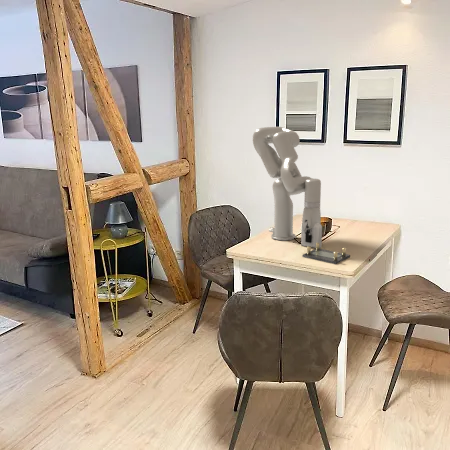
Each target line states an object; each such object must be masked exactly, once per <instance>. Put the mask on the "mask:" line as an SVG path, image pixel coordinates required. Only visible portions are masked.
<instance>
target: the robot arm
mask: <svg viewBox="0 0 450 450" xmlns="http://www.w3.org/2000/svg"><path fill="white" fill-rule="evenodd" d="M270 144H273V146H274V148H275V149H274V148H273V147H272V146H271V145H270ZM252 145H253V147H254V150H255V151H256V153H257V154H258V156H259V158H260V159H261V161H262V163H263V167H265V169H266V172H267V174H268V176H270V178H272V179H275V180H274V182H273V183H272V192H273V200H274V202H273V203H274V225H273V226H274V227H270V228H269V229H268V232H270V233H272V234H271V239H273V240H275V241H291V240H294V238H295V239H296V234H295V233H293V231H294V229H293V228H294V227H293V224H294V203H293V200H292V199H291V196H294V195H299V194H302V193H304V202H303V203H304V204H303V205H304V208H303V211H302V212H303V213H302V217H301V218H302V220H301V221H302V222H301V228H302V227H303V231H304V232H305V234H306V235H305V242H308V243H311V242H312V235H311V231H312V228H313V227H314V225H315V224H316V223H319V224H321V220H322V218H321V214H322V213H321V196H322V195H321V192H322V191H321V190H322V182H321V180H320V179H319V178H312V177H310V176H305V175H304V176H302V174H301V172H300V170H299V168H298V166H297V164H296V162H297V160H298V159H299V155H298V153H297V151H296V149H295V148H296V147H298V146H299V145H300V136H299V134H298V133H297V132H296V131H294V130H292V129H289V128H286V127H282V126H266V127H260V128H257V129H256V130H255V131H254V132H253V135H252ZM321 225H322V224H321ZM307 227H309V228H307ZM308 229H309V231H308Z"/></svg>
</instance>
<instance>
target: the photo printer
mask: <svg viewBox="0 0 450 450" xmlns="http://www.w3.org/2000/svg"><path fill="white" fill-rule="evenodd" d="M307 228H309V227H307ZM308 231H309V229H308ZM300 234H301V237H300V238H301V239H300V243H301V244H300V245H301V246H304V247H307V246H311V248H312V249H313V248H314V249H316V243H319V249H322V241H323V239H322V237H323V225H322V224H319V223H316V224H315V225H314V227H313V228H312V231H311V235H312V242H311V243H308V242H305V235H306V234H305V232H304V231H303V227H302V226H301V233H300Z"/></svg>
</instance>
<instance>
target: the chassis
mask: <svg viewBox="0 0 450 450" xmlns="http://www.w3.org/2000/svg"><path fill="white" fill-rule="evenodd" d="M311 248H312V247H311V246H306V253H303V254H302V258H306V259H310V260H315V261H320V262H324V263H329V264H334V265H337V264H339V263H341V262H343V261H345V260H347V259H349V258H350V257H351V254H348V253H347V247H342V249H341V251H342V252H338V251H334V250H330V249H329V250H328V249H324V248H319V243H316V248H314V249H313V250H312V249H311Z"/></svg>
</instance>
